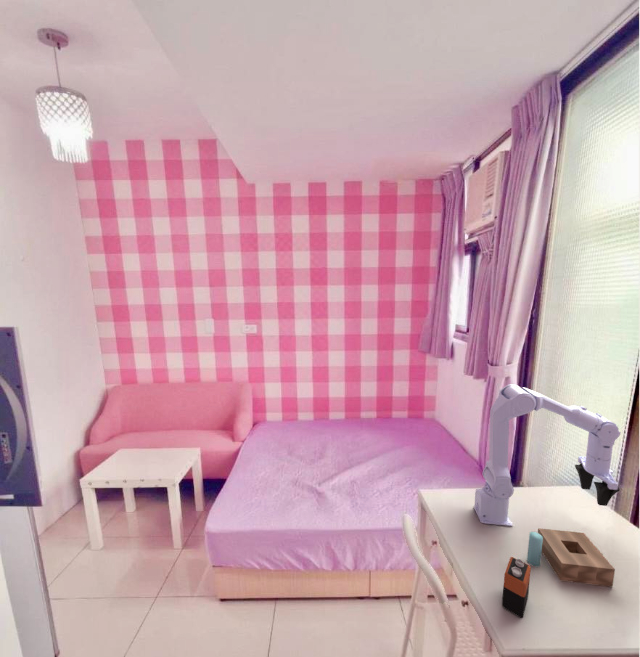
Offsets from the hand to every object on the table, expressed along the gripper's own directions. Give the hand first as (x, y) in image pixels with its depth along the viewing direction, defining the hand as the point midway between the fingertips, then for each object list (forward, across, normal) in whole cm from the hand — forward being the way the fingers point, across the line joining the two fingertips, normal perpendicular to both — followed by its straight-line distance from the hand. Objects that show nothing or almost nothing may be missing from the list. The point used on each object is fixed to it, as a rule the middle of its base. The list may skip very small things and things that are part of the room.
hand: (593, 496), depth 100 cm
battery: (+10, -30, +34) cm, 46 cm away
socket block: (+10, -16, +14) cm, 24 cm away
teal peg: (+10, -17, +24) cm, 31 cm away
